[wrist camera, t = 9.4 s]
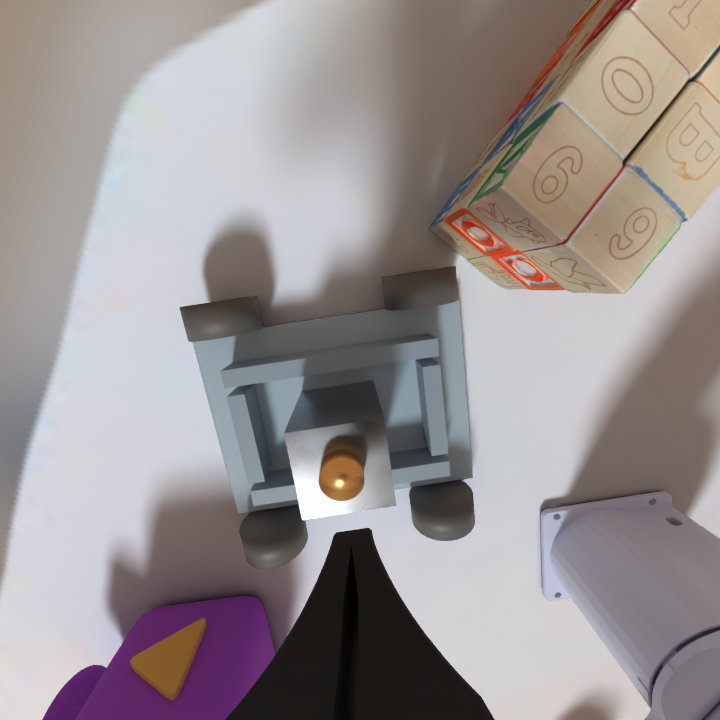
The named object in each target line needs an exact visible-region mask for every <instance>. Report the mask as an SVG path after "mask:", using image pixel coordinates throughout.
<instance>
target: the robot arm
mask: <svg viewBox="0 0 720 720" xmlns="http://www.w3.org/2000/svg"><path fill="white" fill-rule="evenodd" d="M555 514H557V515H556V516H554V515H555ZM541 553H542V593H543V596H544V597H545V599H546V600H548V601H554V600H560V599H567V598H572V600H573V601H574V603H575V604H576V605H577V607H578V608H579V610H580V611H581V612H582V614H583V615H584V616H585V618H586V619H587V621H588V622H589V623H590V625H591V626H592V628H593V629H594V630H595V632H596V633H597V635H598V636H599V637H600V639H601V640H602V642H603V643H604V644H605V646H606V647H607V649H608V650H609V651H610V653H611V654H612V656H613V657H614V658H615V660H616V661H617V662H618V664H619V665H620V667H621V668H622V669H623V671H624V672H625V674H626V675H627V676H628V678H629V679H630V681H631V682H632V683H633V685H634V686H635V688H636V689H637V690H638V692H639V693H640V695H641V696H642V697H643V699H644V700H645V701H646V703H647V704H648V706H649V707H650V708H651V710H650V712H649V714H648V716H647V717H646V718H645V720H720V538H718V537H717V536H715V535H714V534H712V533H711V532H709V531H708V530H706V529H705V528H703V527H702V526H700V525H699V524H697V523H696V522H695V521H693V520H692V519H690V518H689V517H687V516H686V515H684V514H683V513H681V512H680V511H678V510H677V509H675V508H674V507H672V496H671V495H670V494H669V493H667V492H665V491H660V492H654V493H647V494H641V495H634V496H628V497H621V498H615V499H608V500H602V501H595V502H589V503H582V504H576V505H569V506H563V507H556V508H550V509H546V510H544V511H542V513H541ZM225 720H494V718H493V716H492V715H491V713H490V711H489V709H488V708H487V706H486V704H485V703H484V701H483V699H482V698H481V696H480V695H479V694H478V693H477V692H476V691H475V690H474V689H473V688H472V687H471V686H470V685H469V684H468V683H467V682H466V681H465V680H464V679H463V678H462V677H461V676H460V675H459V674H458V672H457V671H456V670H455V669H454V668H453V667H452V666H451V665H450V663H449V662H448V661H447V660H446V659H445V658H444V657H443V655H442V654H441V653H440V652H439V650H438V649H437V648H436V647H435V645H434V644H433V643H432V642H431V640H430V639H429V638H428V637H427V635H426V634H425V633H424V631H423V630H422V629H421V627H420V626H419V625H418V623H417V622H416V620H415V619H414V617H413V616H412V614H411V613H410V611H409V610H408V608H407V607H406V605H405V604H404V602H403V601H402V599H401V597H400V596H399V594H398V592H397V590H396V589H395V587H394V585H393V583H392V581H391V579H390V578H389V576H388V574H387V572H386V569H385V567H384V565H383V563H382V561H381V559H380V556H379V554H378V551H377V549H376V546H375V543H374V539H373V535H372V530H371V529H369V528H365V529H358V530H351V531H344V532H337V533H336V534H335V535H334V537H333V540H332V544H331V547H330V550H329V553H328V555H327V558H326V561H325V563H324V566H323V568H322V570H321V573H320V575H319V577H318V580H317V582H316V584H315V586H314V588H313V590H312V592H311V595H310V597H309V599H308V601H307V603H306V605H305V607H304V608H303V610H302V612H301V614H300V616H299V618H298V619H297V621H296V623H295V625H294V626H293V628H292V630H291V631H290V633H289V635H288V636H287V638H286V639H285V641H284V642H283V644H282V645H281V647H280V649H279V650H278V652H277V653H276V655H275V656H274V658H273V659H272V661H271V662H270V663H269V665H268V666H267V668H266V669H265V670H264V672H263V673H262V674H261V676H260V677H259V678H258V679H257V681H256V682H255V683H254V685H253V686H252V687H251V689H250V690H249V691H248V693H247V694H246V695H245V696H244V698H243V699H242V700H241V701H240V703H239V704H238V705H237V706H236V707H235V708H234V710H233V711H232V712H231V713H230V714H229V715H228V717H227V718H226V719H225Z"/></svg>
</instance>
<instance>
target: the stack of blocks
mask: <svg viewBox="0 0 720 720" xmlns="http://www.w3.org/2000/svg"><path fill="white" fill-rule="evenodd" d="M719 184H720V0H591V2H590V3H589V5H588V6H587V7H586V9H585V10H584V11H583V13H582V14H581V16H580V17H579V18H578V20H577V21H576V23H575V24H574V25H573V27H572V28H571V29H570V31H569V33H568V36H567V39H566V41H565V42H564V43H563V44H562V46H561V47H560V48H559V50H558V51H557V53H556V54H555V55H554V57H553V58H552V60H551V61H550V62H549V64H548V65H547V66H546V68H545V69H544V71H543V72H542V73H541V75H540V76H539V77H538V79H537V80H536V82H535V83H534V84H533V86H532V89H531V91H530V92H529V93H528V95H527V96H526V97H525V99H524V100H523V101H522V103H521V104H520V105H519V107H518V108H517V109H516V111H515V112H514V114H513V115H512V116H511V118H510V119H509V121H508V122H507V123H506V125H505V126H504V128H502V129H501V130H500V131H499V132H498V133H497V134H496V135H495V136H494V138H493V139H492V140H491V142H490V143H489V144H488V146H487V147H486V148H485V150H484V151H483V153H482V154H481V155H480V157H479V158H478V159H477V161H476V162H475V164H474V165H473V166H472V168H471V169H470V170H469V172H468V173H467V175H466V176H465V177H464V179H463V180H462V182H461V184H460V186H459V187H458V189H457V190H456V191H455V193H454V194H453V195H452V197H451V198H450V199H449V201H448V202H447V204H446V205H445V206H444V208H443V209H442V211H441V212H440V213H439V215H438V216H437V218H436V219H435V220H434V222H433V223H432V225H431V226H430V228H429V229H430V230H431V231H432V232H433V233H434V234H436V235H437V236H438V237H439V238H441V239H442V240H443V241H444V242H446V243H447V244H448V245H449V246H450V247H452V248H453V249H454V250H455V251H457V252H458V253H459V254H460V255H461V256H463V257H464V258H466V259H467V260H468V262H470V263H471V264H472V265H473V266H474V267H475V268H477V269H478V270H479V271H480V272H482V273H483V274H484V275H485V276H487V277H488V278H489V279H491V280H492V281H493V282H494V283H496V284H497V285H499V286H500V287H502V288H505V289H530V290H567V291H570V292H573V293H605V294H622V293H625V292H627V291H628V290H629V289H630V288H631V287H632V286H633V284H634V283H635V282H636V280H637V279H638V278H639V277H640V276H641V274H642V273H643V272H644V271H645V270H646V268H647V267H648V266H649V265H650V264H651V262H652V261H653V260H654V259H655V258H656V256H657V255H658V254H659V253H660V252H661V251H662V249H663V248H664V247H665V246H666V245H667V243H668V242H669V241H670V240H671V238H672V237H673V236H674V235H675V233H676V232H677V231H678V230H679V229H680V226H681V224H682V222H684V221H687V220H689V219H690V218H691V217H692V216H693V215H694V214H695V213H696V211H697V210H698V209H699V208H700V206H701V205H702V204H703V203H704V202H705V200H706V199H707V198H708V197H709V196H710V195H711V194H712V192H713V191H714V190H715V189H716V188H717V187H718V185H719Z"/></svg>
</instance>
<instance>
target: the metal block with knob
mask: <svg viewBox="0 0 720 720" xmlns="http://www.w3.org/2000/svg"><path fill="white" fill-rule="evenodd" d="M284 437H285V441H286V446H287V451H288V455H289V460H290V465H291V469H292V474H293V479H294V483H295V488H296V493H297V498H298V502H299V507H300V512H301V516H302V520H306V519H313V518H319V517H326V516H332V515H339V514H345V513H352V512H358V511H365V510H371V509H378V508H384V507H391V506H396V501H395V494H394V486H393V479H392V472H391V464H390V457H389V450H388V442H387V435H386V428H385V420H384V416H383V412H382V409H381V405H380V402H379V398H378V395H377V391H376V388H375V384H374V380H371V381H364V382H357V383H351V384H344V385H337V386H331V387H324V388H318V389H311V390H304V391H301V394H300V396H299V398H298V401H297V403H296V405H295V408H294V410H293V413H292V415H291V417H290V420H289V422H288V424H287V427H286V429H285V432H284Z"/></svg>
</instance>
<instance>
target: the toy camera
mask: <svg viewBox="0 0 720 720" xmlns="http://www.w3.org/2000/svg"><path fill="white" fill-rule="evenodd" d="M274 656H275V651H274V647H273V642H272V638H271V633H270V629H269V624H268V620H267V616H266V613H265V610H264V607H263V605H262V603H261V601H260V600H259V599H258V598H256V597H253V596H238V597H230V598H222V599H214V600H206V601H199V602H191V603H183V604H176V605H170V606H164V607H159V608H155V609H152V610H150V611H148V612H147V613H145V614H144V615H143V616H142V617H141V618H140V619H139V620H138V622H137V623H136V624H135V626H134V627H133V629H132V630H131V631H130V633H129V634H128V636H127V637H126V639H125V640H124V642H123V643H122V645H121V647H120V648H119V650H118V651H117V653H116V654H115V656H114V657H113V659H112V661H111V662H110V664H109V665H108V667H107V668H106V667H104V666H101V665H92V666H89V667H87V668H84V669H83V670H81V671H80V672H78V673H77V674H76V675H74V676H73V677H72V678H71V679H70V680H69V681H68V682H67V683H66V684H65V685H64V687H63V688H62V689H61V690H60V692H59V693H58V694H57V696H56V697H55V699H54V700H53V702H52V703H51V705H50V707H49V708H48V710H47V712H46V714H45V716H44V718H43V720H225V719H226V718H227V717H228V715H229V714H230V713H231V712H232V711H233V710H234V708H235V707H236V706H237V705H238V704H239V703H240V701H241V700H242V699H243V698H244V696H245V695H246V694H247V693H248V691H249V690H250V689H251V687H252V686H253V685H254V683H255V682H256V681H257V679H258V678H259V677H260V676H261V674H262V673H263V672H264V670H265V669H266V668H267V666H268V665H269V663H270V662H271V661H272V659H273V658H274Z"/></svg>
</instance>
